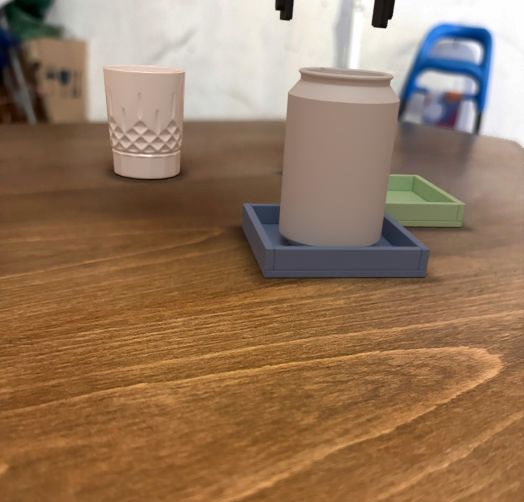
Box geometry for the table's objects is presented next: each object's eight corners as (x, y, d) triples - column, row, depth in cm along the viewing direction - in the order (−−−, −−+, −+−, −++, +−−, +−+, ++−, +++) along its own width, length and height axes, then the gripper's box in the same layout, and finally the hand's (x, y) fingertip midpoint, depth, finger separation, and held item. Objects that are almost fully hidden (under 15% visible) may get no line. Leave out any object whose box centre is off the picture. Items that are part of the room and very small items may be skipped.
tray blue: (375, 229, 55) (378, 205, 54) (425, 277, 46) (430, 249, 45) (241, 227, 53) (242, 203, 53) (264, 277, 44) (265, 248, 43)
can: (393, 260, 47) (421, 76, 41) (288, 261, 45) (303, 70, 40) (361, 229, 53) (382, 66, 48) (269, 228, 52) (279, 61, 47)
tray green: (415, 194, 67) (418, 174, 66) (461, 227, 57) (466, 204, 56) (306, 192, 65) (308, 172, 64) (335, 226, 56) (338, 202, 55)
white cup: (125, 161, 73) (122, 63, 69) (194, 168, 72) (195, 68, 68) (95, 176, 66) (89, 67, 62) (170, 184, 65) (170, 74, 61)
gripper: (266, -217, 54) (252, 18, 62) (465, -189, 57) (428, 32, 65) (253, -194, 61) (242, 16, 68) (432, -169, 64) (402, 29, 71)
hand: (332, 24), depth 67 cm, fingers open, 9 cm apart
